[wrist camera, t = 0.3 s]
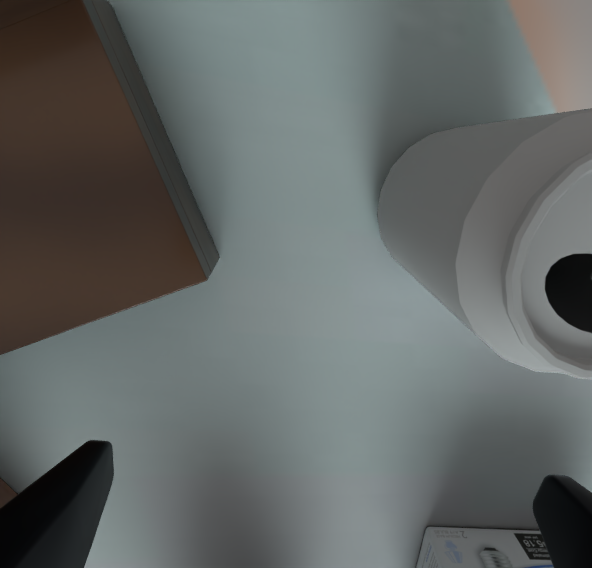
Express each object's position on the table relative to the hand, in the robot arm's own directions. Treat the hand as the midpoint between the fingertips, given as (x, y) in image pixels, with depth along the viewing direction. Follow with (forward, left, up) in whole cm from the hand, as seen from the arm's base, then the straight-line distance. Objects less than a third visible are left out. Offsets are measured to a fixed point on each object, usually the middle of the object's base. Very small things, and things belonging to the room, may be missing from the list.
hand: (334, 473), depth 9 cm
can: (+4, -7, -14) cm, 17 cm away
